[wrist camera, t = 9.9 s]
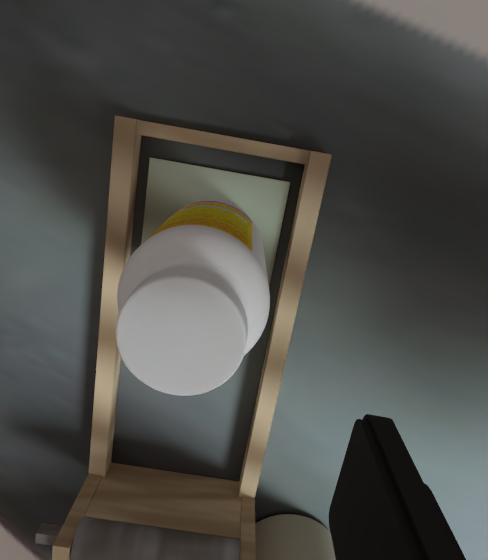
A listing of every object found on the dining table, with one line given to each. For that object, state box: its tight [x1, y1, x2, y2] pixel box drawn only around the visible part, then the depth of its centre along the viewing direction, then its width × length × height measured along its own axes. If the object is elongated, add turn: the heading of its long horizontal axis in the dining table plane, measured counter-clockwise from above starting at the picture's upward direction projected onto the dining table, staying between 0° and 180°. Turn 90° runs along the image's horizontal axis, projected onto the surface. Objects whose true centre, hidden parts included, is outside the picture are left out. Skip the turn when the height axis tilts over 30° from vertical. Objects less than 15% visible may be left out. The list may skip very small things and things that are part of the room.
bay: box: [35, 116, 332, 560], centre depth 26 cm, size 27×14×7 cm, turn 170°
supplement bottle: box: [115, 200, 270, 396], centre depth 21 cm, size 7×7×13 cm
